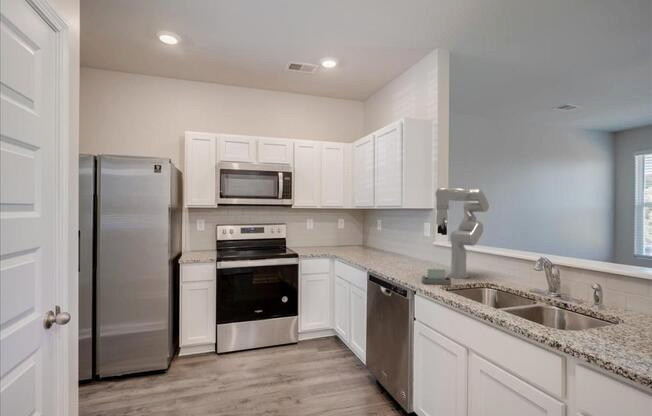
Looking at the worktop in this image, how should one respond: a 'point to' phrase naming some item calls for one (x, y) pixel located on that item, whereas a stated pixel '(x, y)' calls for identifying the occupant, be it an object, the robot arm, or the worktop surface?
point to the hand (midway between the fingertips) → (442, 234)
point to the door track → (436, 281)
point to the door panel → (436, 273)
